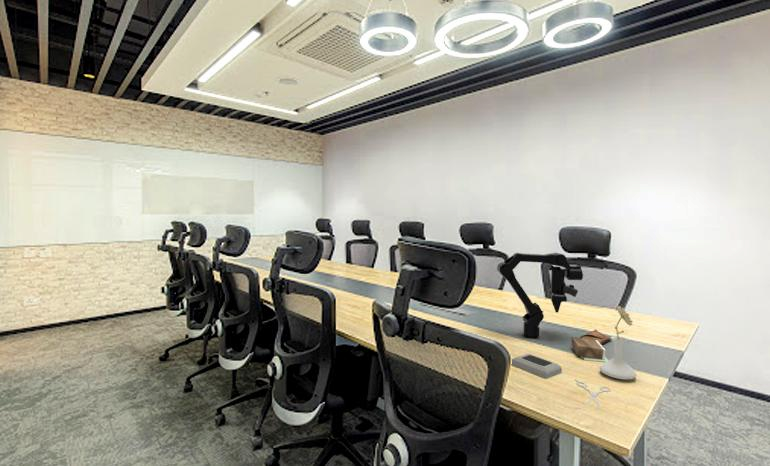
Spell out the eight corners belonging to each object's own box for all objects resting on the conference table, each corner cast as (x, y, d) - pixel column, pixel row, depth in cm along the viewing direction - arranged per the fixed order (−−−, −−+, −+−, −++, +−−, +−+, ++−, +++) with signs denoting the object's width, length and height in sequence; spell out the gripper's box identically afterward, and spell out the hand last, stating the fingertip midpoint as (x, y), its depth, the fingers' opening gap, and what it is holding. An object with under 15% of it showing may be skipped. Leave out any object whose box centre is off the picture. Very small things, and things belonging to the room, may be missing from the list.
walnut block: (578, 345, 150) (605, 350, 148) (572, 336, 162) (597, 340, 159) (577, 355, 151) (604, 359, 148) (571, 345, 162) (596, 349, 159)
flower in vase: (637, 385, 126) (640, 313, 125) (598, 377, 132) (601, 308, 131) (635, 372, 137) (638, 305, 136) (599, 365, 143) (602, 301, 142)
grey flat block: (526, 351, 148) (561, 364, 135) (525, 360, 148) (561, 373, 136) (511, 356, 142) (546, 369, 130) (510, 365, 143) (546, 379, 130)
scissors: (610, 385, 125) (614, 412, 107) (610, 388, 125) (614, 415, 107) (575, 378, 130) (573, 403, 112) (574, 381, 130) (573, 406, 112)
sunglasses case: (599, 347, 160) (590, 332, 162) (584, 352, 164) (576, 338, 167) (612, 338, 172) (604, 325, 174) (598, 343, 177) (590, 330, 179)
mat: (581, 359, 148) (581, 357, 148) (573, 346, 164) (573, 344, 164) (609, 362, 146) (609, 360, 146) (598, 348, 161) (598, 347, 161)
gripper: (579, 284, 163) (578, 319, 164) (574, 277, 180) (573, 309, 181) (552, 282, 167) (551, 316, 167) (549, 276, 184) (548, 307, 185)
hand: (556, 312), depth 175 cm, fingers closed
